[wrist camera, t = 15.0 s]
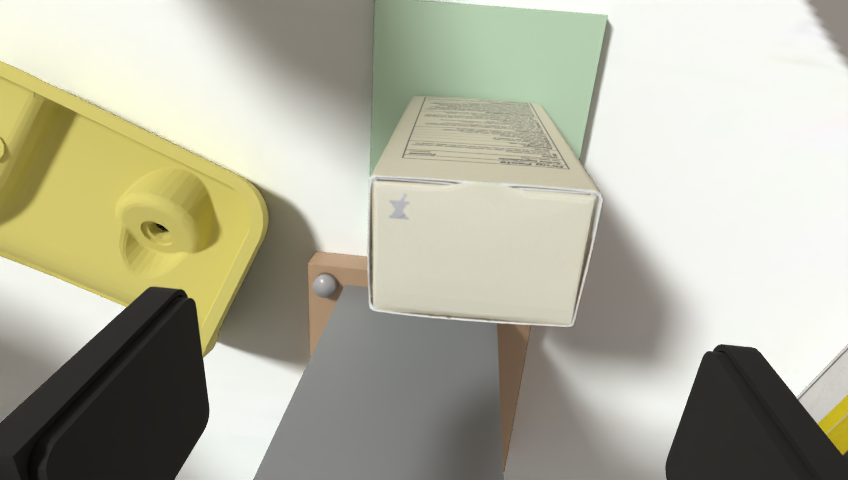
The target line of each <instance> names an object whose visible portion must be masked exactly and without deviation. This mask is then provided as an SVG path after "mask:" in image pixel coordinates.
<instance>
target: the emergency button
mask: <svg viewBox="0 0 848 480" xmlns="http://www.w3.org/2000/svg"><path fill="white" fill-rule="evenodd" d="M796 398H797V399H798V400H799V402H800V403H801V404H802V405H803V407H804V408H805V409H806V410H807V412H808V413H809V414H810V415H811V417H812V418H813V419H814V420H815V422H816V423H817V424H818V425H819V427H820V428H821V429H822V430H823V431H824V433H825V434H826V435H827V436H828V438H829V439H830V440H831V441H832V443H833V444H834V445H835V446H836V448H837V449H838V450H839V451H840V453H841V454H842V455H843V456H844V458H845V459H846V460H847V461H848V345H847V346H846V347H845V348H844V349H843V350H842V351H841V352H840V353H839V354H838V355H837V356H836V357H835V358H834V359H833V360H832V361H831V362H830V363H829V364H828V365H827V366H826V367H825V368H824V369H823V370H822V371H821V372H820V373H819V374H818V375H817V376H816V378H815V379H814V380H813V381H812V382H811V383H810V384H809V385H808V386H807V387H806V388H805V389H804V390H803V391H802V392H801V393H800V394H799V395H798V396H797V397H796Z"/></svg>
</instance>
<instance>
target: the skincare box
mask: <svg viewBox="0 0 848 480" xmlns="http://www.w3.org/2000/svg"><path fill="white" fill-rule="evenodd" d="M602 204H603V196H602V194H601V192H600V191H599V189H598V188H597V186H596V185H595V183H594V182H593V181H592V179H591V177H590V176H589V175H588V173H587V172H586V170H585V169H584V167H583V166H582V164H581V163H580V161H579V160H578V158H577V157H576V155H575V154H574V152H573V151H572V149H571V148H570V146H569V145H568V143H567V142H566V140H565V139H564V137H563V136H562V134H561V133H560V131H559V130H558V128H557V127H556V125H555V124H554V122H553V121H552V119H551V118H550V116H549V115H548V113H547V112H546V110H545V109H544V107H543V106H542V105H541V104H538V103H529V102H519V101H507V100H495V99H478V98H461V97H436V96H414V97H412V99H411V101H410V102H409V104H408V106H407V108H406V110H405V112H404V114H403V116H402V118H401V119H400V122H399V123H398V125H397V127H396V129H395V131H394V133H393V135H392V137H391V139H390V141H389V143H388V145H387V146H386V148H385V150H384V152H383V154H382V156H381V158H380V160H379V162H378V164H377V166H376V167H375V169H374V171H373V173H372V175H371V177H370V180H369V205H368V246H367V253H368V295H369V307H370V309H372V310H373V311H377V312H386V313H391V314H400V315H408V316H417V317H427V318H437V319H448V320H461V321H474V322H488V323H501V324H517V325H536V326H557V327H572V326H573V325H574V323H575V320H576V315H577V311H578V307H579V303H580V300H581V296H582V292H583V288H584V284H585V280H586V276H587V273H588V268H589V264H590V258H591V255H592V250H593V246H594V242H595V238H596V233H597V228H598V224H599V219H600V214H601V210H602Z"/></svg>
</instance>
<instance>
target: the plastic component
mask: <svg viewBox="0 0 848 480" xmlns="http://www.w3.org/2000/svg"><path fill="white" fill-rule="evenodd" d="M268 222H269V217H268V210H267V206H266V203H265V201H264V198H263V197H262V195H261V193H260V192H259V191H258V189H257V188H256V187H255V186H254V185H253V184H252V183H250V182H249V181H248V180H246V179H245V178H243V177H241V176H239V175H237V174H235V173H233V172H231V171H229V170H227V169H225V168H223V167H221V166H219V165H217V164H214V163H212V162H210V161H208V160H206V159H204V158H202V157H200V156H198V155H196V154H194V153H192V152H190V151H188V150H186V149H184V148H181V147H179V146H177V145H175V144H173V143H171V142H169V141H167V140H165V139H163V138H161V137H159V136H157V135H155V134H153V133H151V132H148V131H146V130H144V129H142V128H140V127H138V126H136V125H134V124H132V123H130V122H128V121H126V120H124V119H122V118H120V117H118V116H115V115H113V114H111V113H109V112H107V111H105V110H103V109H101V108H99V107H97V106H95V105H93V104H91V103H89V102H87V101H85V100H82V99H80V98H78V97H76V96H74V95H72V94H70V93H68V92H66V91H63V90H61V89H59V88H57V87H55V86H52V85H50V84H48V83H46V82H44V81H42V80H40V79H38V78H36V77H34V76H32V75H30V74H28V73H26V72H24V71H22V70H20V69H17V68H15V67H13V66H10V65H8V64H6V63H4V62H1V61H0V256H2V257H4V258H7V259H10V260H12V261H15V262H18V263H20V264H23V265H26V266H28V267H31V268H33V269H36V270H38V271H41V272H43V273H46V274H48V275H51V276H54V277H56V278H59V279H61V280H63V281H66V282H68V283H70V284H73V285H75V286H78V287H80V288H82V289H85V290H87V291H90V292H92V293H94V294H97V295H99V296H102V297H104V298H106V299H109V300H111V301H114V302H116V303H118V304H121V305H123V306H125V307H128V306H129V305H130V304H131V303H132V302H133V301H134V300H135V299H136V298H137V297H138V296H140V295H141V294H142V293H143V292H144V291H145V290H146V289H148V288H149V287H164V288H174V289H182V290H184V291H185V292H186V294H187V296H188V298H192V299H194V301H195V303H196V308H197V316H198V324H199V332H200V340H201V347H202V355H203V358H204V357H205V356H206V355H207V354H208V353H209V352H210V351H211V350H212V349H213V348H214V346H215V344H216V342H217V340H218V337H219V330H220V328H221V325H222V323H223V321H224V319H225V317H226V315H227V313H228V311H229V309H230V307H231V305H232V303H233V301H234V299H235V297H236V295H237V293H238V291H239V289H240V287H241V285H242V283H243V281H244V279H245V277H246V275H247V273H248V271H249V269H250V267H251V265H252V262H253V260H254V258H255V256H256V254H257V252H258V250H259V248H260V246H261V244H262V242H263V240H264V238H265V236H266V233H267V229H268ZM156 223H157V224H160V225H162V226H164V227H165V228H166V229H167V230H168V231H169V232H167V231H164V230H162V229H161V228H159V227H158V226H157V225H156Z"/></svg>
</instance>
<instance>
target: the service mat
mask: <svg viewBox="0 0 848 480" xmlns="http://www.w3.org/2000/svg"><path fill="white" fill-rule="evenodd" d="M607 17H608V15H601V14H588V13H575V12H562V11H549V10H537V9H524V8H511V7H498V6H485V5H472V4H459V3H446V2H433V1H421V0H375V7H374V43H373V79H372V116H371V152H370V177H371V175H372V173H373V171H374V169H375V167H376V166H377V164H378V162H379V160H380V158H381V156H382V154H383V152H384V150H385V148H386V146H387V145H388V143H389V141H390V139H391V137H392V135H393V133H394V131H395V129H396V127H397V125H398V123H399V122H400V119H401V118H402V116H403V114H404V112H405V110H406V108H407V106H408V104H409V102H410V101H411V99H412V97H414V96H436V97H461V98H478V99H495V100H507V101H519V102H529V103H538V104H541V105H542V106H543V107H544V109H545V110H546V112H547V113H548V115H549V116H550V118H551V119H552V121H553V122H554V124H555V125H556V127H557V128H558V130H559V131H560V133H561V134H562V136H563V137H564V139H565V140H566V142H567V143H568V145H569V146H570V148H571V149H572V151H573V152H574V154H575V155H576V157H577V158H578V160H579V159H580V154H581V149H582V144H583V139H584V133H585V128H586V123H587V118H588V113H589V108H590V103H591V98H592V93H593V88H594V83H595V78H596V73H597V67H598V62H599V57H600V52H601V47H602V42H603V37H604V32H605V27H606V22H607Z"/></svg>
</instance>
